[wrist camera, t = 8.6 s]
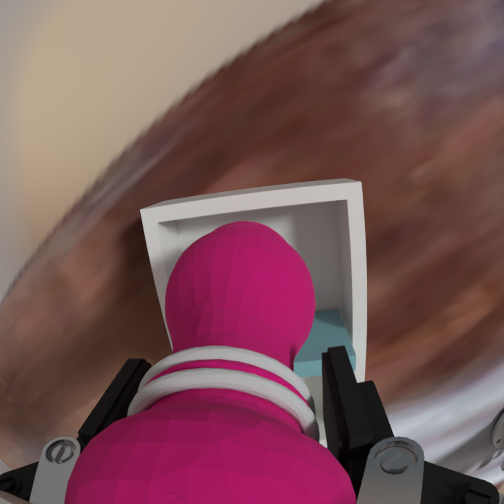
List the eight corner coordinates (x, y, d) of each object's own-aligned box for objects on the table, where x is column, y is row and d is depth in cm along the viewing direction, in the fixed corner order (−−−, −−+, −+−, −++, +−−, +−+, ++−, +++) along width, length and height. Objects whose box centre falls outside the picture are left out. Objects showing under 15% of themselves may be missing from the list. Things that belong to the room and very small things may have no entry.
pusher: (339, 358, 26) (353, 410, 20) (210, 369, 27) (194, 421, 21) (338, 309, 25) (356, 355, 18) (199, 322, 26) (177, 368, 20)
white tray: (350, 406, 29) (358, 441, 24) (213, 417, 30) (204, 451, 26) (344, 178, 24) (361, 181, 19) (164, 200, 25) (140, 209, 20)
